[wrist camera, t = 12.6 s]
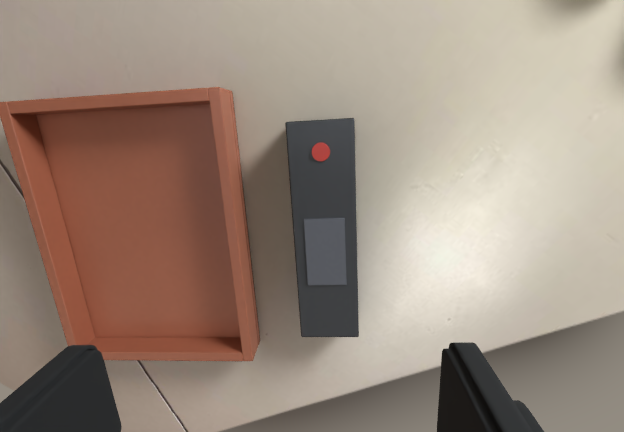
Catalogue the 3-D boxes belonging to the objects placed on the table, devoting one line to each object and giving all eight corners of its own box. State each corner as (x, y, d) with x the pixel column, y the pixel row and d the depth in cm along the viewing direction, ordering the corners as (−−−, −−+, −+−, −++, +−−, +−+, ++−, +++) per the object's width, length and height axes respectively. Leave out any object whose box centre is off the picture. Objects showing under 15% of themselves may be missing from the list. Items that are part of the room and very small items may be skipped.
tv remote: (304, 318, 27) (301, 338, 25) (290, 122, 23) (284, 121, 21) (356, 318, 27) (358, 338, 24) (352, 118, 23) (354, 117, 20)
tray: (94, 340, 30) (71, 360, 27) (30, 104, 24) (-5, 102, 22) (260, 340, 28) (252, 361, 26) (232, 91, 23) (219, 86, 20)
